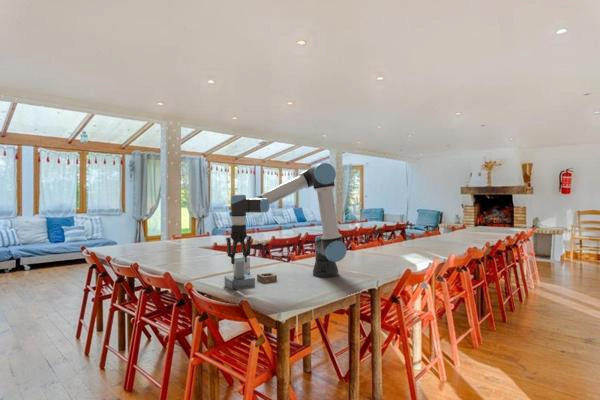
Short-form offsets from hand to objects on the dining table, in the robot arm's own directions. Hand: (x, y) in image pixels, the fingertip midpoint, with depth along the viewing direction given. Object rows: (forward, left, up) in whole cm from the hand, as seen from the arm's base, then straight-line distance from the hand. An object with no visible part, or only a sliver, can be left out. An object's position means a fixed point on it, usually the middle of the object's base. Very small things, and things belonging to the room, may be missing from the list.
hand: (239, 269), depth 179 cm
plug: (0, 0, -6) cm, 6 cm away
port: (0, 0, -9) cm, 9 cm away
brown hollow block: (-16, -1, -9) cm, 18 cm away
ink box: (-9, -20, -9) cm, 24 cm away
